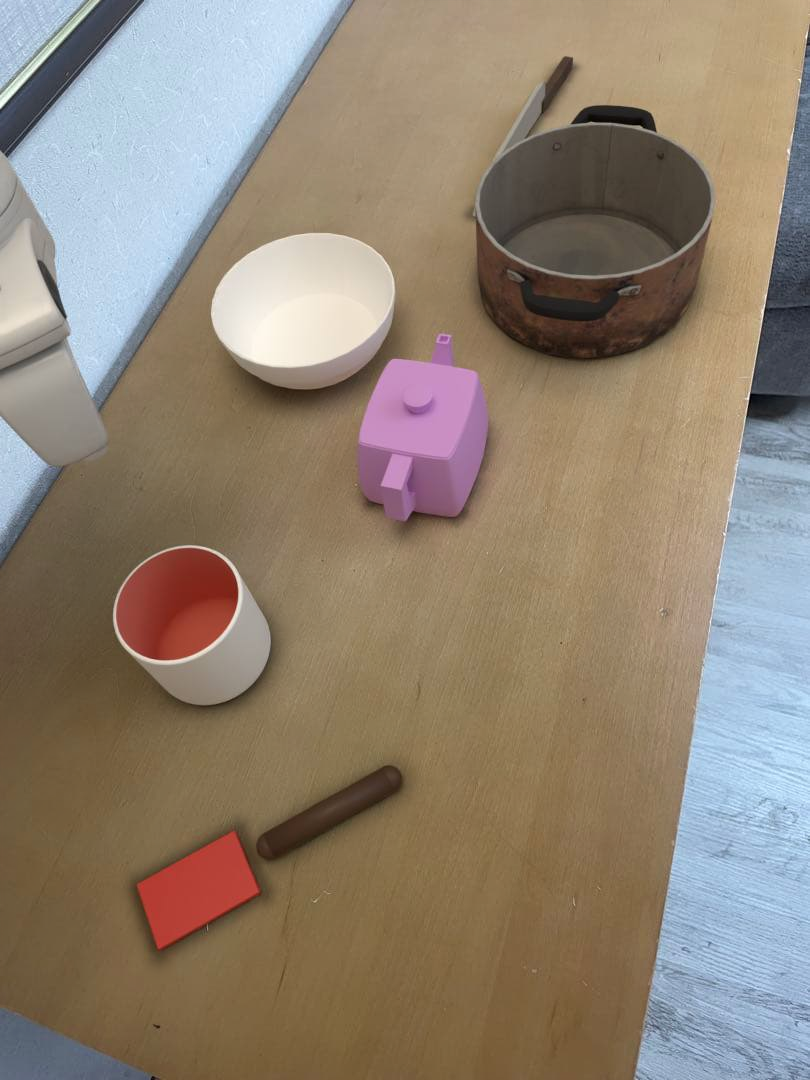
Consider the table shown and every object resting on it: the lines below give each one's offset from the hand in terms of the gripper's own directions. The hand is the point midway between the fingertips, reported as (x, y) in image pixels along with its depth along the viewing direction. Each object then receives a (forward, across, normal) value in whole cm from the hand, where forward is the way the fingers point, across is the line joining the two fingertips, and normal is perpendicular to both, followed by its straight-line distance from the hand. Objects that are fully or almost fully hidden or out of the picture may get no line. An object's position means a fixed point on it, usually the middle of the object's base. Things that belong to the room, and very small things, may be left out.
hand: (74, 405), depth 59 cm
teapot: (+22, +3, +25) cm, 33 cm away
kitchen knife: (+22, -32, +58) cm, 70 cm away
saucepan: (+22, -8, +50) cm, 55 cm away
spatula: (+22, +28, -3) cm, 35 cm away
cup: (+22, +11, 0) cm, 24 cm away
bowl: (+22, -16, +22) cm, 35 cm away
